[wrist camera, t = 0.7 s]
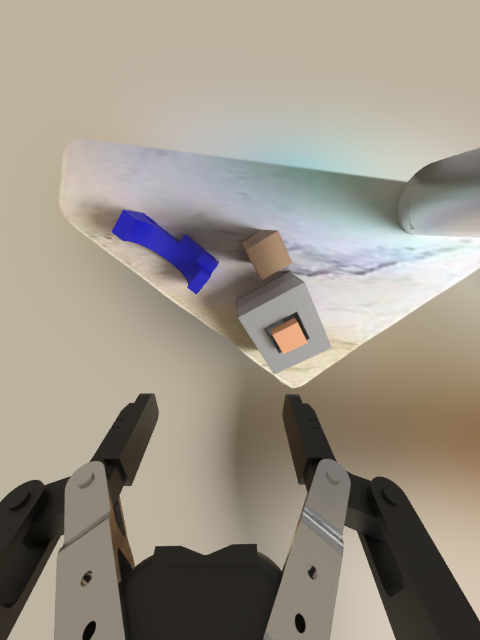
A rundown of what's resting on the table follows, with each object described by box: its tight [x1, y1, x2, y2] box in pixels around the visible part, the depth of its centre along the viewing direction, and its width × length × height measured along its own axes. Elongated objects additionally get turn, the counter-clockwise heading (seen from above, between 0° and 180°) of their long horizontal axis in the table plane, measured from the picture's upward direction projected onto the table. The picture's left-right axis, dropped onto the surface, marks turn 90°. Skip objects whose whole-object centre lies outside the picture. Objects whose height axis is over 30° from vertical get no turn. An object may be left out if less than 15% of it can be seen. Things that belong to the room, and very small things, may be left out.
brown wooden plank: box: [241, 230, 292, 280], centre depth 24 cm, size 4×4×11 cm
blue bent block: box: [112, 210, 219, 294], centre depth 26 cm, size 12×4×6 cm, turn 49°
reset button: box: [271, 318, 308, 354], centre depth 28 cm, size 4×4×3 cm
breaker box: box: [236, 271, 332, 374], centre depth 31 cm, size 10×12×7 cm
